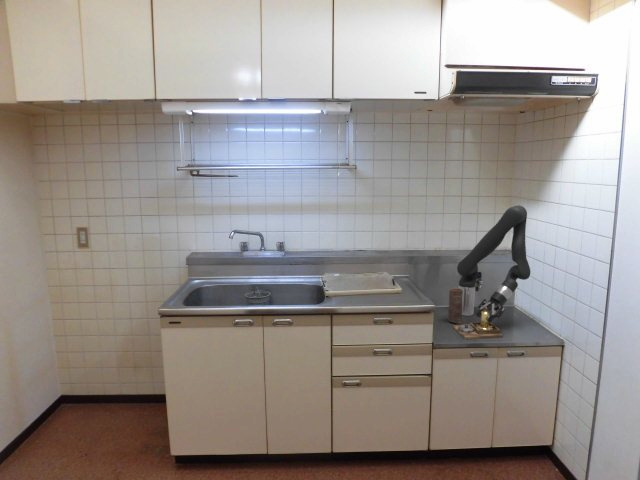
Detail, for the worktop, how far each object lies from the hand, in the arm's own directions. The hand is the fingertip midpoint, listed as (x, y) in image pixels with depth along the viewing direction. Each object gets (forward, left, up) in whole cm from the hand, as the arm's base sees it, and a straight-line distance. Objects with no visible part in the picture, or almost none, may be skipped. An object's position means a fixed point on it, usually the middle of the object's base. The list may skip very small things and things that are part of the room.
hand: (482, 318), depth 218 cm
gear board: (0, -3, -8) cm, 8 cm away
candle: (-15, -9, -8) cm, 19 cm away
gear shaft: (0, +1, -6) cm, 7 cm away
